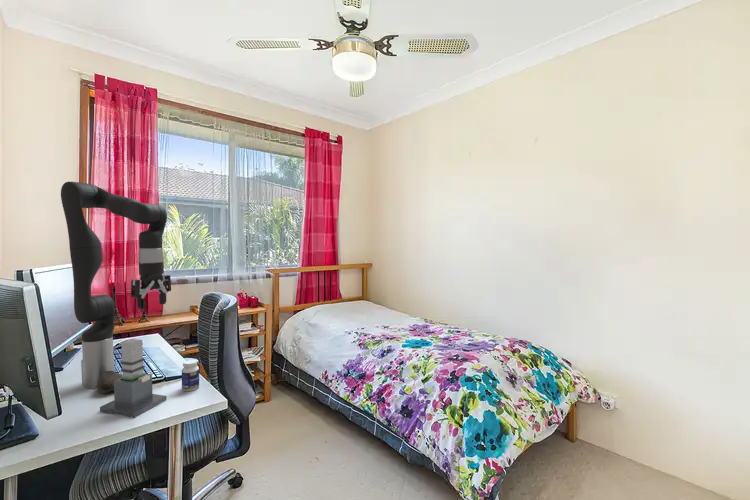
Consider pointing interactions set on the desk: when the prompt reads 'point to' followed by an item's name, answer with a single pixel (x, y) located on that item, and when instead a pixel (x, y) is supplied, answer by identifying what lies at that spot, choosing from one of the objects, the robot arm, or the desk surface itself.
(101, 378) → the stone
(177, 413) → the desk surface
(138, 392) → the stand
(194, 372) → the pill bottle
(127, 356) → the column
